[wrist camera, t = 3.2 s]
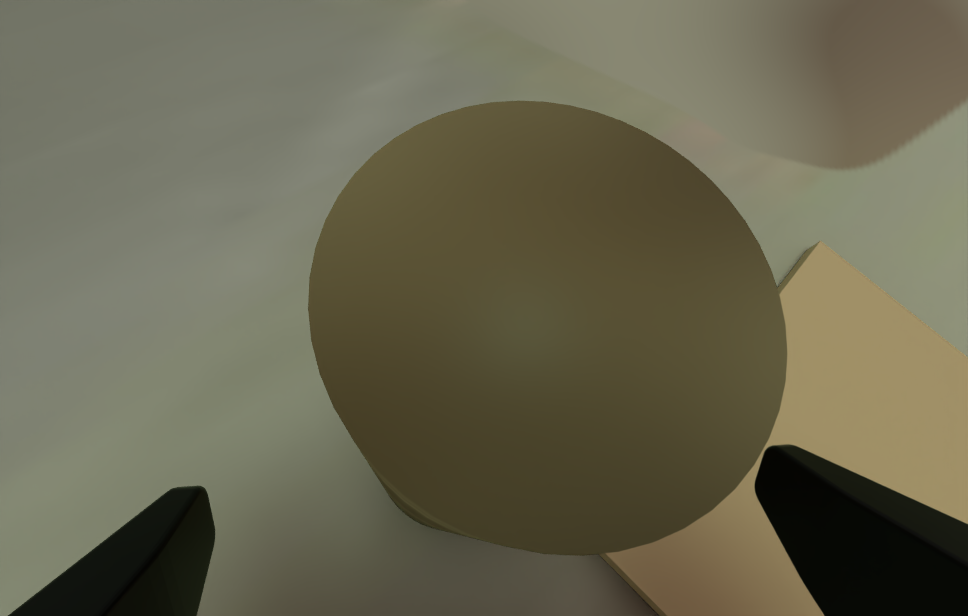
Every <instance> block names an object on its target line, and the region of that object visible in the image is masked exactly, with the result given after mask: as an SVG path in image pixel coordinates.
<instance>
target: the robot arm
mask: <svg viewBox="0 0 968 616" xmlns="http://www.w3.org/2000/svg"><path fill="white" fill-rule="evenodd" d="M754 489H755V494H756V497H757V499H758V501H759V503H760V504H761V506H762V508H763V510H764V512H765V514H766V516H767V517H768V519H769V521H770V523H771V525H772V527H773V528H774V530H775V532H776V534H777V536H778V538H779V540H780V541H781V543H782V545H783V547H784V549H785V551H786V553H787V554H788V556H789V558H790V560H791V562H792V564H793V565H794V567H795V569H796V571H797V573H798V574H799V576H800V578H801V580H802V581H803V583H804V585H805V586H806V588H807V590H808V591H809V593H810V594H811V596H812V597H813V599H814V601H815V602H816V604H817V605H818V607H819V608H820V610H821V611H822V613H823V614H824V616H968V524H967V523H965V522H962V521H960V520H958V519H956V518H954V517H951V516H949V515H947V514H945V513H943V512H940V511H938V510H936V509H934V508H932V507H929V506H927V505H925V504H923V503H921V502H918V501H916V500H914V499H912V498H910V497H907V496H905V495H903V494H901V493H899V492H897V491H894V490H892V489H890V488H888V487H886V486H883V485H881V484H879V483H877V482H875V481H872V480H870V479H868V478H866V477H864V476H861V475H859V474H857V473H855V472H853V471H850V470H848V469H846V468H844V467H842V466H840V465H837V464H835V463H833V462H831V461H829V460H826V459H824V458H822V457H820V456H818V455H815V454H813V453H811V452H809V451H807V450H804V449H802V448H800V447H798V446H795V445H791V444H784V445H772V446H769V447H768V448H767V449H766V450H765V451H764V454H763V457H762V460H761V463H760V466H759V470H758V473H757V476H756V479H755V483H754ZM214 542H215V526H214V521H213V516H212V512H211V507H210V503H209V498H208V494H207V491H206V489H205V488H204V487H202V486H187V487H176V488H173V489H171V490H169V491H167V492H166V493H165V494H164V495H162V496H161V497H160V498H158V499H157V500H156V501H155V502H153V503H152V504H151V505H149V506H148V507H147V508H146V509H144V510H143V511H142V512H140V513H139V514H138V515H137V516H135V517H134V518H133V519H131V520H130V521H129V522H128V523H126V524H125V525H124V526H122V527H121V528H120V529H119V530H117V531H116V532H115V533H113V534H112V535H111V536H110V537H108V538H107V539H106V540H104V541H103V542H102V543H101V544H99V545H98V546H97V547H96V548H94V549H93V550H92V551H90V552H89V553H88V554H87V555H85V556H84V557H83V558H81V559H80V560H79V561H78V562H76V563H75V564H74V565H72V566H71V567H70V568H69V569H67V570H66V571H65V572H63V573H62V574H61V575H60V576H58V577H57V578H56V579H54V580H53V581H52V582H51V583H49V584H48V585H47V586H45V587H44V588H43V589H42V590H40V591H39V592H38V593H36V594H35V595H34V596H33V597H31V598H30V599H29V600H27V601H26V602H25V603H24V604H22V605H21V606H20V607H18V608H17V609H16V610H15V611H13V612H12V613H11V614H9V615H8V616H197V612H198V608H199V604H200V600H201V596H202V592H203V588H204V584H205V580H206V576H207V572H208V568H209V564H210V559H211V555H212V551H213V547H214Z"/></svg>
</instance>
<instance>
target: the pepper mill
mask: <svg viewBox="0 0 968 616" xmlns="http://www.w3.org/2000/svg"><path fill="white" fill-rule="evenodd" d="M308 311H309V321H310V331H311V341H312V345H313V349H314V353H315V357H316V361H317V365H318V369H319V372H320V375H321V378H322V380H323V383H324V385H325V387H326V390H327V392H328V395H329V397H330V400H331V402H332V404H333V407H334V408H335V410H336V412H337V413H338V415H339V417H340V418H341V420H342V422H343V423H344V425H345V427H346V429H347V430H348V432H349V434H350V435H351V437H352V439H353V440H354V442H355V443H356V445H357V446H358V448H359V449H360V451H361V453H362V454H363V456H364V457H365V459H366V460H367V462H368V463H369V465H370V467H371V468H372V470H373V471H374V473H375V474H376V476H377V477H378V479H379V480H380V482H381V484H382V485H383V487H384V488H385V490H386V491H387V493H388V494H389V496H390V498H391V499H392V500H393V501H394V503H395V504H396V505H397V506H398V507H399V508H400V509H401V510H402V511H403V512H404V513H405V514H406V515H408V516H409V517H410V518H412V519H413V520H415V521H417V522H419V523H421V524H423V525H425V526H428V527H431V528H435V529H439V530H443V531H447V532H451V533H455V534H459V535H463V536H467V537H470V538H474V539H478V540H482V541H486V542H490V543H494V544H498V545H502V546H506V547H511V548H516V549H522V550H527V551H532V552H537V553H542V554H557V555H580V556H584V555H593V554H602V553H611V552H620V551H623V550H627V549H631V548H635V547H638V546H642V545H646V544H649V543H653V542H655V541H658V540H660V539H662V538H664V537H667V536H669V535H671V534H673V533H676V532H678V531H680V530H682V529H684V528H686V527H687V526H689V525H690V524H692V523H694V522H695V521H697V520H698V519H700V518H701V517H703V516H704V515H706V514H707V513H709V512H710V511H712V510H713V509H714V508H715V507H716V506H717V505H718V504H719V503H721V502H722V501H723V500H724V499H725V498H726V497H727V496H728V495H729V494H730V493H731V492H733V491H734V490H735V489H736V487H737V486H738V485H739V484H740V482H741V481H742V480H743V479H744V477H745V476H746V475H747V473H748V472H749V471H750V470H751V468H752V467H753V466H754V465H755V463H756V461H757V459H758V457H759V456H760V454H761V452H762V450H763V449H764V447H765V445H766V443H767V441H768V440H769V438H770V435H771V432H772V429H773V427H774V424H775V421H776V419H777V416H778V413H779V411H780V406H781V401H782V396H783V392H784V387H785V382H786V368H787V339H786V325H785V320H784V315H783V310H782V304H781V299H780V295H779V292H778V289H777V286H776V283H775V280H774V277H773V274H772V271H771V269H770V266H769V264H768V262H767V260H766V258H765V256H764V253H763V251H762V249H761V247H760V245H759V243H758V241H757V240H756V238H755V236H754V235H753V233H752V231H751V230H750V228H749V226H748V225H747V223H746V221H745V220H744V219H743V217H742V216H741V215H740V213H739V212H738V211H737V210H736V208H735V207H734V206H733V204H732V203H731V202H730V200H729V199H728V198H727V197H726V196H725V195H724V194H723V193H722V191H721V190H720V189H719V188H718V187H717V186H716V185H715V184H714V183H713V182H712V181H711V180H710V179H709V178H708V177H707V176H706V175H705V174H704V173H703V172H701V171H700V170H699V169H698V168H697V167H696V166H695V165H694V164H692V163H691V162H690V161H689V160H687V159H686V158H685V157H683V156H682V155H681V154H679V153H678V152H676V151H675V150H674V149H672V148H671V147H669V146H668V145H666V144H665V143H663V142H661V141H660V140H658V139H656V138H654V137H653V136H651V135H649V134H648V133H646V132H644V131H642V130H640V129H638V128H635V127H633V126H631V125H629V124H627V123H625V122H623V121H620V120H617V119H615V118H612V117H609V116H606V115H603V114H600V113H598V112H594V111H590V110H586V109H582V108H578V107H574V106H570V105H563V104H556V103H549V102H536V101H507V102H492V103H486V104H480V105H475V106H469V107H465V108H461V109H458V110H455V111H451V112H448V113H444V114H441V115H439V116H437V117H434V118H432V119H430V120H427V121H425V122H423V123H420V124H418V125H416V126H414V127H413V128H411V129H409V130H408V131H406V132H404V133H402V134H401V135H399V136H397V137H396V138H394V139H393V140H392V141H390V142H389V143H388V144H386V145H385V146H384V147H383V148H381V149H380V150H379V151H377V152H376V153H375V154H374V155H373V156H372V157H371V158H370V159H369V160H368V161H367V162H366V163H365V164H364V165H363V166H362V167H361V168H360V169H359V170H358V171H357V172H356V173H355V174H354V176H353V177H352V178H351V180H350V181H349V182H348V184H347V185H346V186H345V188H344V189H343V190H342V192H341V193H340V194H339V196H338V198H337V200H336V202H335V203H334V205H333V207H332V209H331V211H330V213H329V215H328V216H327V218H326V220H325V223H324V226H323V228H322V231H321V234H320V237H319V240H318V242H317V245H316V248H315V253H314V258H313V263H312V268H311V273H310V281H309V303H308Z"/></svg>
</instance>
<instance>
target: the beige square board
mask: <svg viewBox="0 0 968 616" xmlns="http://www.w3.org/2000/svg"><path fill="white" fill-rule="evenodd" d="M777 289H778V292H779V295H780V299H781V304H782V310H783V315H784V320H785V325H786V339H787V368H786V382H785V387H784V392H783V396H782V401H781V406H780V411H779V413H778V416H777V419H776V421H775V424H774V427H773V429H772V432H771V435H770V438H769V440H768V441H767V443H766V445H765V447H764V449H763V450H762V452H761V454H760V456H759V457H758V459H757V461H756V463H755V465H754V466H753V467H752V468H751V470H750V471H749V472H748V473H747V475H746V476H745V477H744V479H743V480H742V481H741V482H740V484H739V485H738V486H737V487H736V489H735V490H734V491H733V492H731V493H730V494H729V495H728V496H727V497H726V498H725V499H724V500H723V501H722V502H721V503H719V504H718V505H717V506H716V507H715V508H714V509H713V510H712V511H710V512H709V513H707V514H706V515H704V516H703V517H701V518H700V519H698V520H697V521H695V522H694V523H692V524H690V525H689V526H687V527H686V528H684V529H682V530H680V531H678V532H676V533H673V534H671V535H669V536H667V537H664V538H662V539H660V540H658V541H655V542H653V543H649V544H646V545H642V546H638V547H635V548H631V549H627V550H623V551H620V552H611V553H602V554H599V555H600V556H601V557H602V558H603V559H604V560H605V561H606V562H607V563H608V564H609V565H610V566H611V567H612V568H613V569H614V570H615V571H616V572H617V573H618V574H619V575H620V576H621V577H622V578H623V579H624V580H625V581H626V582H627V583H628V584H629V585H630V586H631V587H632V588H633V589H634V590H635V591H636V592H637V593H638V594H639V595H640V596H641V597H642V598H643V599H644V600H645V601H646V602H647V603H648V604H649V605H650V606H651V607H652V609H653V610H654V611H655V612H656V613H657V614H658V615H659V616H824V614H823V613H822V611H821V610H820V608H819V607H818V605H817V604H816V602H815V601H814V599H813V597H812V596H811V594H810V593H809V591H808V590H807V588H806V586H805V585H804V583H803V581H802V580H801V578H800V576H799V574H798V573H797V571H796V569H795V567H794V565H793V564H792V562H791V560H790V558H789V556H788V554H787V553H786V551H785V549H784V547H783V545H782V543H781V541H780V540H779V538H778V536H777V534H776V532H775V530H774V528H773V527H772V525H771V523H770V521H769V519H768V517H767V516H766V514H765V512H764V510H763V508H762V506H761V504H760V503H759V501H758V499H757V497H756V494H755V489H754V483H755V479H756V476H757V473H758V470H759V466H760V463H761V460H762V457H763V454H764V451H765V450H766V449H767V448H768V447H769V446H772V445H784V444H791V445H795V446H798V447H800V448H802V449H804V450H807V451H809V452H811V453H813V454H815V455H818V456H820V457H822V458H824V459H826V460H829V461H831V462H833V463H835V464H837V465H840V466H842V467H844V468H846V469H848V470H850V471H853V472H855V473H857V474H859V475H861V476H864V477H866V478H868V479H870V480H872V481H875V482H877V483H879V484H881V485H883V486H886V487H888V488H890V489H892V490H894V491H897V492H899V493H901V494H903V495H905V496H907V497H910V498H912V499H914V500H916V501H918V502H921V503H923V504H925V505H927V506H929V507H932V508H934V509H936V510H938V511H940V512H943V513H945V514H947V515H949V516H951V517H954V518H956V519H958V520H960V521H962V522H965V523H967V524H968V357H967V356H965V355H964V354H963V353H961V352H960V351H959V350H958V349H956V348H955V347H954V346H953V345H951V344H950V343H949V342H948V341H946V340H945V339H944V338H943V337H941V336H940V335H939V334H937V333H936V332H935V331H934V330H932V329H931V328H930V327H929V326H927V325H926V324H925V323H924V322H922V321H921V320H920V319H919V318H917V317H916V316H915V315H914V314H912V313H911V312H910V311H908V310H907V309H906V308H905V307H903V306H902V305H901V304H900V303H898V302H897V301H896V300H895V299H893V298H892V297H891V296H890V295H888V294H887V293H886V292H884V291H883V290H882V289H881V288H879V287H878V286H877V285H876V284H874V283H873V282H872V281H871V280H869V279H868V278H867V277H866V276H864V275H863V274H862V273H860V272H859V271H858V270H857V269H855V268H854V267H853V266H852V265H850V264H849V263H848V262H847V261H845V260H844V259H843V258H842V257H840V256H839V255H838V254H836V253H835V252H834V251H833V250H831V249H830V248H829V247H828V246H826V245H825V244H824V243H823V242H821V241H820V242H818V243H817V244H815V245H814V246H812V247H811V248H809V249H808V250H807V251H806V252H805V253H804V254H803V256H802V257H801V258H800V260H799V261H798V262H797V264H796V265H795V266H794V267H793V269H792V270H791V271H790V273H789V274H788V275H787V276H786V278H785V279H784V280H783V282H782V283H781V284H780V285H779V287H778V288H777Z"/></svg>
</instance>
